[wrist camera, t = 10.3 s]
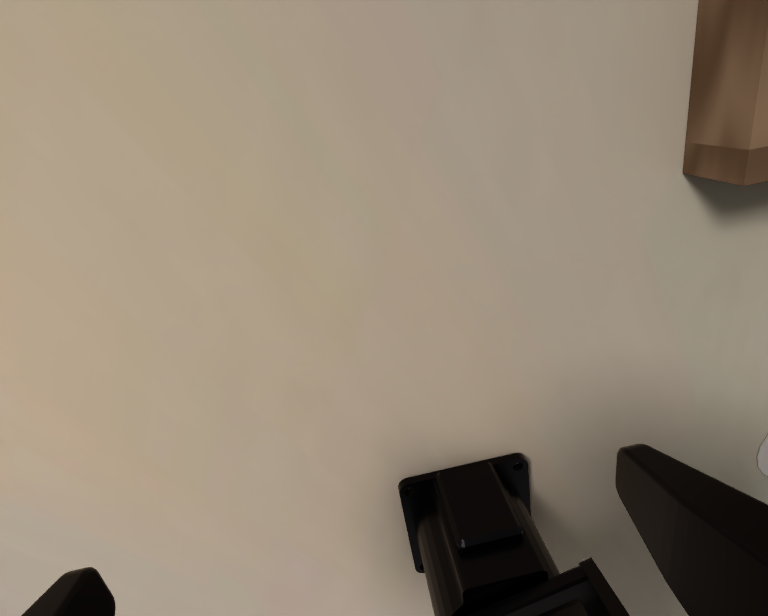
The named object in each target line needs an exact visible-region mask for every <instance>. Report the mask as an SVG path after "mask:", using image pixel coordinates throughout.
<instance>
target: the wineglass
mask: <svg viewBox="0 0 768 616" xmlns="http://www.w3.org/2000/svg"><path fill="white" fill-rule="evenodd" d="M757 460H758V467H759V469H760V470H761V472H762V473H763V474H764V475H766V476H768V435H767V437H766V438H765V440H764V441H763V443H762V445H761V446H760V450H759V453H758V456H757Z"/></svg>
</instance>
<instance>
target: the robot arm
mask: <svg viewBox="0 0 768 616" xmlns="http://www.w3.org/2000/svg"><path fill="white" fill-rule="evenodd" d="M516 463H518V464H516ZM515 464H516V465H515ZM407 488H411V489H409V490H406V489H407ZM398 489H399V494H400V498H401V503H402V508H403V512H404V517H405V522H406V527H407V531H408V536H409V541H410V545H411V550H412V555H413V560H414V564H415V569H416V571H417V572H419V573H425V575H426V579H427V584H428V588H429V593H430V597H431V601H432V606H433V610H434V614H435V616H629V614H628V612H627V611H626V609H625V608H624V606H623V605H622V603H621V602H620V600H619V599H618V597H617V596H616V594H615V593H614V591H613V590H612V588H611V587H610V585H609V584H608V582H607V581H606V579H605V578H604V576H603V575H602V573H601V572H600V570H599V569H598V567H597V566H596V564H595V563H594V561H593V559H592V558H589V559H587V560H585V561H582V562H580V563H579V565H580V566H578V567H575V568H573V569H571V570H568V571H566V572H564V573H561V574H560V573H559V571H558V569H557V567H556V565H555V563H554V561H553V560H552V558H551V556H550V554H549V552H548V550H547V548H546V546H545V544H544V542H543V540H542V538H541V536H540V534H539V532H538V530H537V528H536V526H535V524H534V522H533V520H532V518H531V510H530V492H529V474H528V463H527V461H526V459H525V457H524V456H523V455H522V454H520V453H514V454H510V455H505V456H501V457H497V458H492V459H488V460H484V461H479V462H475V463H471V464H466V465H462V466H457V467H453V468H449V469H444V470H440V471H436V472H431V473H427V474H423V475H418V476H414V477H409V478H406V479H403V480H402V481H401V482H400V483H399V485H398ZM616 489H617V492H618V494H619V497H620V499H621V500H622V502H623V504H624V506H625V508H626V510H627V511H628V513H629V515H630V517H631V519H632V521H633V522H634V524H635V526H636V528H637V530H638V532H639V533H640V535H641V537H642V539H643V541H644V543H645V544H646V546H647V548H648V550H649V552H650V553H651V555H652V557H653V559H654V561H655V563H656V564H657V566H658V568H659V570H660V572H661V573H662V575H663V577H664V578H665V580H666V582H667V584H668V585H669V587H670V588H671V590H672V591H673V593H674V594H675V596H676V597H677V599H678V600H679V602H680V603H681V605H682V606H683V608H684V609H685V611H686V612H687V614H688V615H689V616H768V505H767V504H765V503H763V502H761V501H759V500H757V499H755V498H753V497H751V496H749V495H747V494H745V493H743V492H741V491H739V490H737V489H735V488H733V487H731V486H729V485H727V484H725V483H723V482H721V481H719V480H717V479H715V478H713V477H710V476H708V475H706V474H704V473H702V472H700V471H698V470H696V469H694V468H692V467H690V466H688V465H686V464H684V463H682V462H680V461H678V460H676V459H674V458H672V457H670V456H668V455H666V454H664V453H662V452H660V451H658V450H656V449H654V448H652V447H650V446H647V445H645V444H635V445H631V446H627V447H622V448H620V449H619V451H618V453H617V465H616ZM22 616H115V600H114V597H113V595H112V593H111V592H110V590H109V589H108V587H107V585H106V584H105V582H104V581H103V579H102V577H101V576H100V574H99V572H98V571H97V570H96V569H94V568H92V567H87V568H83V569H78V570H74V571H70V572H67V573H65V574H64V575H62V576H61V577H60V578H59V579H58V580H57V581H56V582H55V583H54V584H53V585H52V586H51V587H50V588H49V589H48V590H47V591H46V592H45V593H44V594H43V595H42V596H41V597H40V598H39V599H38V600H37V601H36V602H35V603H34V604H33V605H32V606H31V607H30V608H29V609H28V610H27V611H26V612H25V613H24V614H23V615H22Z"/></svg>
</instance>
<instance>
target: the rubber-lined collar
mask: <svg viewBox="0 0 768 616" xmlns="http://www.w3.org/2000/svg"><path fill="white" fill-rule="evenodd" d="M683 173H684V174H689V175H693V176H698V177H703V178H708V179H713V180H718V181H723V182H727V183H732V184H737V185H742V186H746V185H751V184H755V183H760V182H765V181H768V0H699V6H698V16H697V27H696V38H695V48H694V59H693V70H692V81H691V91H690V102H689V113H688V123H687V134H686V145H685V156H684V166H683Z"/></svg>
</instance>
